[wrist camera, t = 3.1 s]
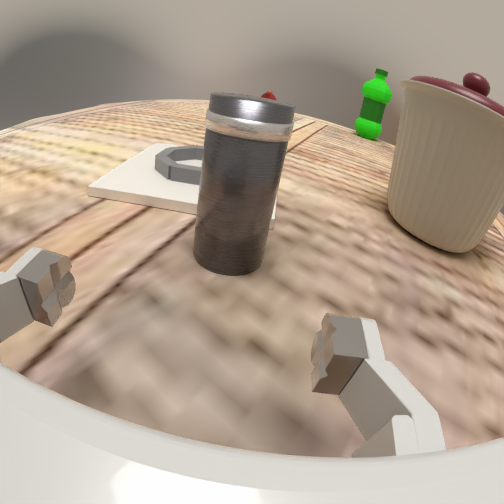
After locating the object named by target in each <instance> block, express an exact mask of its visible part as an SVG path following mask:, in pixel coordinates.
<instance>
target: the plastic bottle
mask: <svg viewBox="0 0 504 504" xmlns="http://www.w3.org/2000/svg"><path fill="white" fill-rule="evenodd" d="M375 73H376V74H377V75H376V78H375V79H372V80H370V81H368V82H366V83H365V84H364V85H363V88H362V94H363V96H364V100H363V105H362V108H361V113H360V116H359V118H357V120H356V121H355V129H356V131H357V133H358V134H359V136H361V137H364V138H367V139H370V140H373V139H375V138H377V137H378V136H379V135H380V134H381V131H382V126H381V121H382V117H383V114H384V110H385V106H386V104H387V103H389V102H390V100H391V97H392V93H391V90H390V88H389V87H388V85H387V84H386V82H385V77H387V75H388V72H386V71H384V70H380V69H376V72H375Z"/></svg>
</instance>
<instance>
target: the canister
mask: <svg viewBox="0 0 504 504" xmlns="http://www.w3.org/2000/svg"><path fill="white" fill-rule="evenodd" d="M401 85H402V87H403V88H404V97H403V104H402V110H401V117H400V123H399V130H398V135H397V141H396V147H395V152H394V158H393V163H392V169H391V175H390V180H389V185H388V193H387V204H388V208H389V211H390V213H391V215H392V216H393V218H394V219H395V220H396V222H398V223H399V224H400V225H401V226H402V227H403V228H405V229H406V230H407V231H408V232H410V233H411V234H412V235H414V236H416V237H417V238H418V239H421V240H422V241H424V242H426V243H428V244H430V245H432V246H435V247H436V248H440V249H442V250H446V251H448V252H453V253H465V252H468V251H470V250H472V249H473V248H474V247H476V246H477V245H478V243H479V242H480V241H481V240H482V238H483V237H484V235H485V234H486V232H487V231H488V229H489V228H490V226H491V224H492V223H493V221H494V220H495V218H496V216H497V215H498V213H499V211H500V209H501V207H502V206H503V204H504V107H503V106H502V105H500V104H498V103H496V102H495V101H493V100H491V99H490V98H488V97H487V95H488V94H489V92H490V86H489V83H488V82H487V80H486V79H485V78H484V77H482V76H481V75H479V74H476V73H468V74H466V75H465V76H464V78H463V86H461V85H458V84H455V83H453V82H449V81H446V80H443V79H438V78H434V77H428V76H415V77H413V78H411V79H410V80H406V79H404V80H401Z"/></svg>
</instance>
